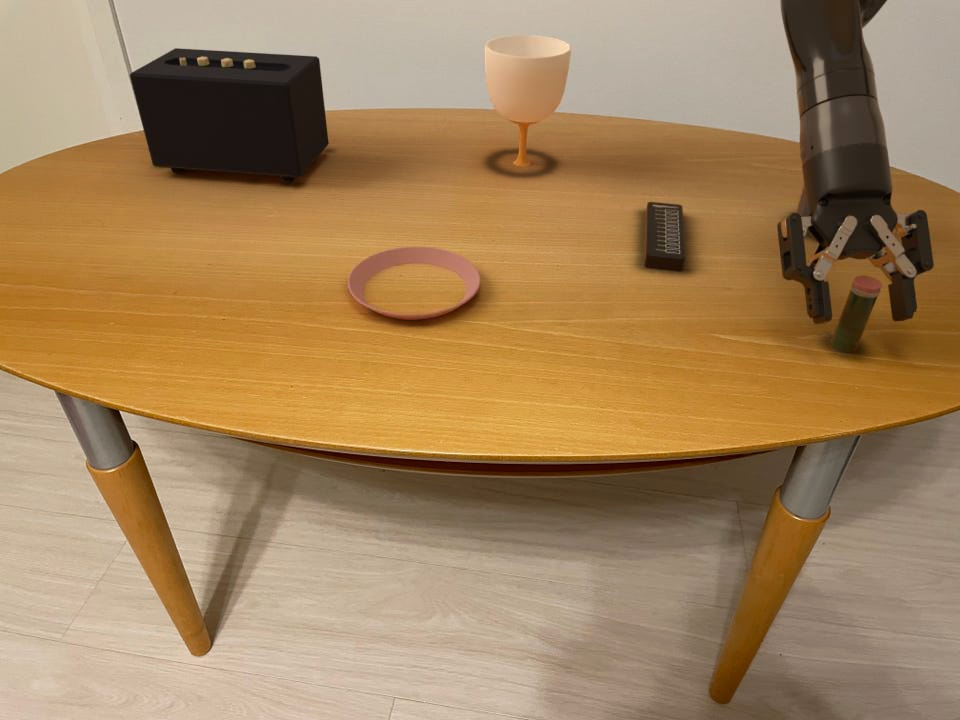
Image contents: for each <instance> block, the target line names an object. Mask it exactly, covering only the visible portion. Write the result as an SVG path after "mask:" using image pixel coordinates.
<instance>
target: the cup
mask: <svg viewBox="0 0 960 720" xmlns="http://www.w3.org/2000/svg"><path fill="white" fill-rule="evenodd" d="M571 54H572V45H571V44H569V43H568V42H566V41H564V40H561V39H558V38H556V37H551V36H544V35H534V34H533V35H532V34H515V35H514V34H513V35H504V36H498V37H494V38H492V39H489V40H487V41H486V43H485V45H484V71H485V72H484V73H485V82H486V83H485V84H486V91H487V93H488V98H489V101H490V103H491V104H492V106H493V108H494V109H495V111H496V112H497V114H498V115H500V117H501V118H503V119H505V120H507V121H509V122H511V123H514V124H516V125H518V126H519V146H518V154H517V158H516V159H515V160H514V161H513V162H512V164H513V165H514V166H516V167H521V168H522V167H523V168H524V167H528V166H531V161H530V160H528V158H527V141H528V140H527V137H528V130H529V127H530V126H531V125H533V124H537V123H541V122H543V121H545V120H546V119H548V118H549V117H551V116H552V115H553V114H554V113H555V111H556V110H557V109H558V107H559V106H560V105H561V102H562V100H563V97H564V94H565V89H566V85H567V81H568V76H569V69H570V61H571Z"/></svg>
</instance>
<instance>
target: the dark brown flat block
mask: <svg viewBox="0 0 960 720" xmlns="http://www.w3.org/2000/svg"><path fill="white" fill-rule="evenodd" d="M644 216H645V217H644V218H645V219H644V222H645V223H644V249H643V250H644V251H643V267H644V268H645V269H651V270H660V271H661V270H663V271H670V272H671V271H672V272H682V271H684V266H685V261H686V246H685V245H686V244H685V227H684V226H685V225H684V210H683V205H682V204H677V203H669V202H667V203H666V202H658V201H657V202H656V201H647V204H646V210H645V215H644Z"/></svg>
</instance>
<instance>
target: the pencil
mask: <svg viewBox="0 0 960 720" xmlns="http://www.w3.org/2000/svg"><path fill="white" fill-rule="evenodd" d="M882 287H883V284H882V282H881V281H880V280H879V279H877V278H876V277H872V276H868V275H857V276H856V277H854V279H853V282H852V283H851V285H850V289H849V292H848V295H847V298H846V300H845V303H844V306H843V309H842V311H841V314H840V316H839V319H838V322H837V324H836V326H835V327H836V328H835V330H834V332H833V335H832V338H831V339H830V340H831V341H830V346H831V347H832V348H833V349H834V350H835V351H837V352H840V353H844V354H853V353H855V352H856V351H857V349H858V346H859V344H860V342H861V339H862V337H863V334H864V331H865V329H866V327H867V324H868V322H869V319H870V316H871V314H872V312H873V309H874V306H875V304H876V301H877V299H878V297H879V295H880V294H881V289H882Z"/></svg>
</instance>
